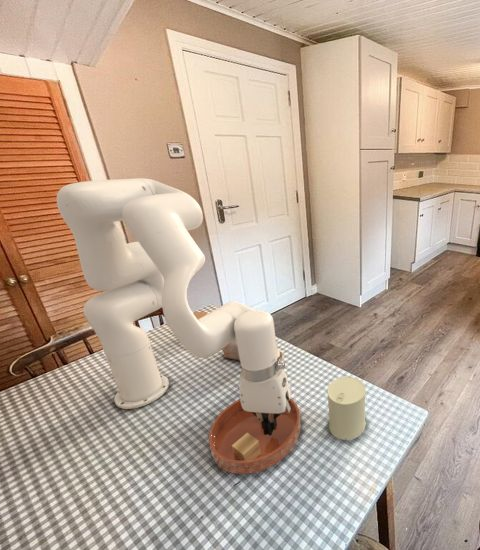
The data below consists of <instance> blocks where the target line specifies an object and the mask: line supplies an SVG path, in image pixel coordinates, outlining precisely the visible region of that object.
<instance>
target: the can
mask: <svg viewBox="0 0 480 550" xmlns="http://www.w3.org/2000/svg"><path fill="white" fill-rule="evenodd" d="M366 392H367V391H366V385H365V384H364V382H363V381H362V380H361V379H358V378H356V377H353V376H342V377H339V378H336V379H334V380H333V381H332V382H331V383H329V385H328V386H327V390H326V393H327V402H328V403H327V404H328V405H327V406H328V423H329V424H328V427H329V431H330V433H331V434H332V436H333V437H335V438H336V439H339V440H343V441H350V440H354V439H356V438H358V437H359V436H361V435H362V434H363V432H364V431H365V429H366V425H367V423H366Z"/></svg>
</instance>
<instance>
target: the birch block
mask: <svg viewBox="0 0 480 550" xmlns="http://www.w3.org/2000/svg"><path fill="white" fill-rule="evenodd" d="M232 449H233V454H234V458H235V459H236V460H238V461H239V460H251V459H255V458H257V457H258V456H259V455H260V454H261V451H260V445H259V441H258V440H257V439H255V438H254V437H253V436H251V435H250V434H248V433H246V434H245V435H244V436H243V437H241V438H240V439H239V440H238V441H237V442H236V443H234V444H233V445H232Z"/></svg>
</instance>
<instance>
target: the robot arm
mask: <svg viewBox="0 0 480 550" xmlns="http://www.w3.org/2000/svg"><path fill="white" fill-rule="evenodd" d="M56 206H57V209H58V212H59V214H60V216H61V218H62V220H63V221H64V223H65V224H66V225H67V227H68V228H69V230H70V232H71V233H72V235H73V238H74V241H75V243H74V244H75V247H76V251H77V256H78V259H79V262H80V268H81V271H82V274H83V277H84V280H85V282H86V284H87V285H88V286H89V287H90V288H91V289H93V290H95V291H100V293H98V294H96V295H94V296H92V297H91V298H89V299H88V300H87V301H86V302H85V303H84V305H83V309H82V311H83V312H82V313H83V315H84V318H85V319H86V322H87V323H88V324H89V326H90V327H91V328H92V330H93V332H94V333H95V335H96V336H97V339H98V340H99V343H100V345H101V347H102V350H103V353H104V355H105V358H106V360H107V363H108V366H109V368H110V371H111V374H112V376H113V379H114V382H115V384H116V387H117V390H118V391H117V392H116V394H115V396H114V403H115V405H116V407H118V408H119V409H123V410H133V409H138V408H141V407H144V406H147V405H150V404H151V403H153V402H155V401H157V400H158V399H159V398H161V397H162V396H163V395H164V394H165V393H166V392H167V390H168V389H169V387H170V381H169V378H168V377H167V376H166V375H163V374H160V371H159V367H158V364H157V360H156V357H155V354H154V351H153V347H152V344H151V342H150V338H149V335H148V333H147V331H146V330H144V329H143V328H142V327H139V326H137V325H135V324H134V323H135V322H137V321H138V320H140V319H141V318H144V317H146V316H148V315H150V314H152V313H154V312H156V311H158V310H160V309H162V313H163V316H164V320H165V322H166V324H167V326H168V328H169V329H170V331H171V332H172V333H173V334H174V336H175V337H176V339H177V340H178V342H179V343H180V344H181V346H182V347H184V348H185V350H186V351H187V352H188V353H189V354H191V355H192V356H194V357H197V358H199V359H207V358H210V357H212V356H214V355H216V354H218V352H220V351H222V349H223V348H224V347H226V346H227V345H228V344H230V343H231V342H232V341H234V340H236V341H237V347H238V352H239V358H240V361H239V362H240V369H241V372H240V374H239V386H238V389H239V392H238V393H239V399H240V402H241V406H242V408H243V410H244V411H246V412H250V413H251V412H252V413H253V414H254V415H255V416H256V417H257V418H258V421H260V422H261V425H262V429H263V430H264V435H267V434H268V435H272V433H273V430H275V429H276V427H277V420H276V418H277V417H278V416H279V415H280V414H282V415H284V414H289V412H290V409H291V408H290V405H289V403H288V401H290V398H291V399H292V397H291V395H292V394H291V388H290V384H289V379H288V376H287V374H286V370H285V368H286V363H285V362H282V361H281V362H280V361H279V357H278V353H277V350H278V345H277V336H276V331H275V329H276V328H275V322H274V318H273V316H272V314H271V313H270V312H268V311H266V310H261V309H256V310H255V309H254V308H252V307H249V306H248V305H246V304H244V303H242V302H239V301H229V302H227V303H225V304H223V305H221V306H219V307H217V308H216V309H214V310H212V311H210V312H209V313H208V312H207V313H208V314H207V315H205V316H203V317H201V318H200V319H198V320H197V318H196V317H195V315H194V314H193V313H194V312H193V311H192V309H191V307H190V305H189V302H188V288H189V286H190V285H189V284H190V282H191V280H192V278H193V277H194V276H195V275H196V273H198V272H199V271H200V269H201V268H202V267H203V266H204V265H205V263H206V256H205V254H204V253H203V251H202V250H201V248H200V247H199V246H198V244H197V243H196V241H195V240H194V238H193V237H192V236H191V234H190V233H189V231H191V230H192V231H193V230H195V229H198V228H200V226H201V225H202V223H203V220H204V214H203V209H202V207H201V205H200V204H199V202H197V200H196V199H195V198H194V197H192V196H191V195H190V194H189V193H187V192H185V191H183V190H181V189H178V188H176V187H173V186H170V185H168V184H165V183H163V182H160V181H157V180H155V179H151V178H145V177H138V178H137V177H134V178H120V179H96V180H87V181H86V180H85V181H79V182H72V183H69V184H66V185H64V186H62V187H61V188H60V189H59V190H58V192H57V194H56ZM122 221H123V222H124V224H125V225H126V227H127V229H129V232H131V234H132V235H133V237H134V238H135V239H136V241H132V242H128V243H126V240H125V239H126V238H125V234H124V231H123V230H122V227H120V225H119V224H118V223H116V222H122ZM287 400H288V401H287Z"/></svg>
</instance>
